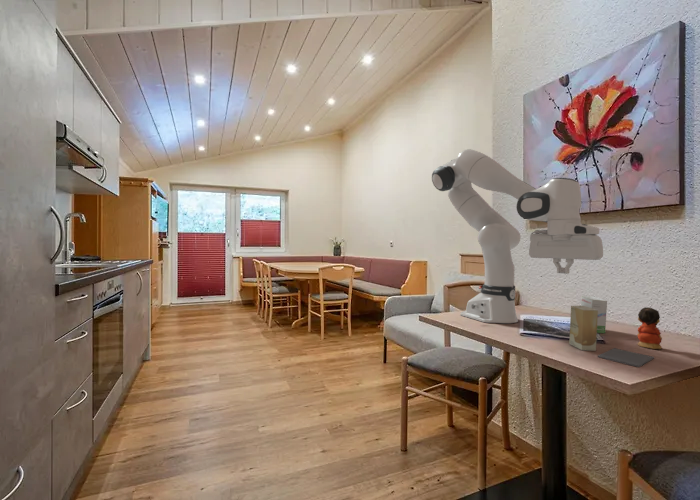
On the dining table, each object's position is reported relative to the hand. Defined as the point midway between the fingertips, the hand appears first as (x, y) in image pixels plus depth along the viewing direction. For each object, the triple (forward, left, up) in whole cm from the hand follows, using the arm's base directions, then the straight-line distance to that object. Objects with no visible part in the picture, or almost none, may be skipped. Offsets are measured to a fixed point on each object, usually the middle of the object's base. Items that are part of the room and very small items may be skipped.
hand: (563, 273), depth 106 cm
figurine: (+17, +18, -22) cm, 33 cm away
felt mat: (+16, 0, -22) cm, 27 cm away
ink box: (-1, +26, -22) cm, 34 cm away
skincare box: (+6, 0, -22) cm, 23 cm away
